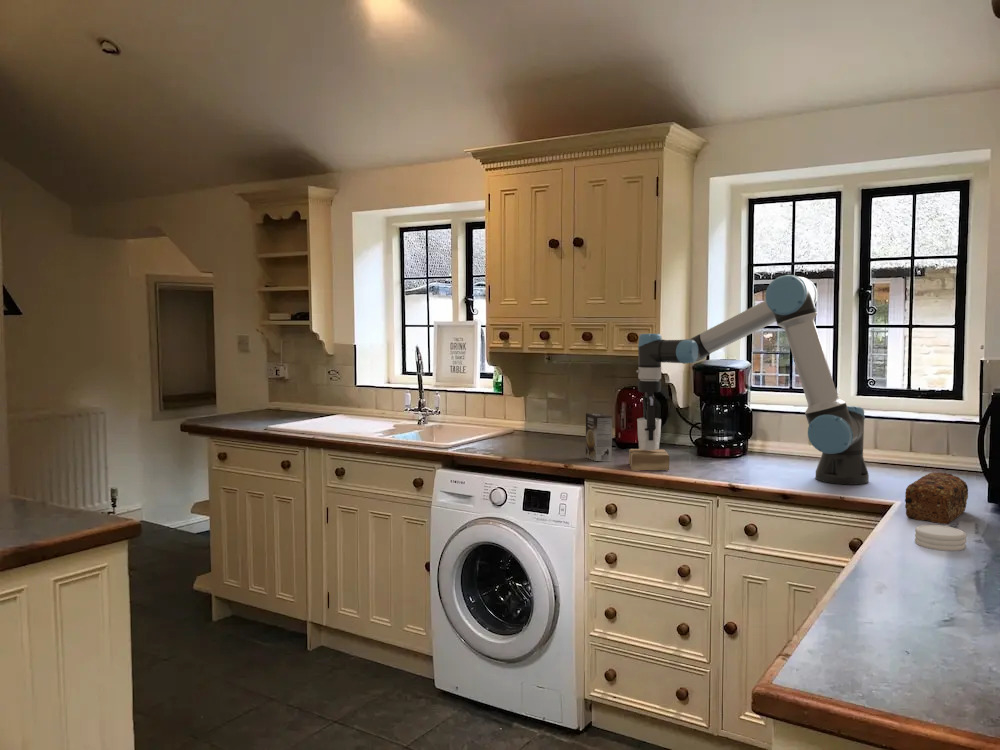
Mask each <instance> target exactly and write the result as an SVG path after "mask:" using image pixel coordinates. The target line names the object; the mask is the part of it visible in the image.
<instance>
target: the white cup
mask: <svg viewBox="0 0 1000 750" xmlns="http://www.w3.org/2000/svg"><path fill="white" fill-rule="evenodd" d="M636 421H637V423H636V424H637V441H638V449H642V450H646V431H645V428H647V420H646V419H644V418H643V417H639V418H637V419H636ZM655 426H656V429H655V450H658V449H660V441H661V433H662V431H661V427H662V418H658V417H655Z"/></svg>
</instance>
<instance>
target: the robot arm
mask: <svg viewBox="0 0 1000 750" xmlns="http://www.w3.org/2000/svg"><path fill="white" fill-rule="evenodd" d="M764 296H765V297H764V298H765V300H763V301H762V302H760V303H757V304H756V305H754V306H751V307H749V308H747V309H746V310H744V311H741V312H740V313H738V314H736V315H733V316H732V317H730V318H728V319H727V320H724V321H722V322H720V323H718V324H717V325H716V324H715V325H714V326H713V327H710V328H709V329H707V330H704V331H703V332H700V333H699V334H697V335H695V336H693V337H691V338H686V339H662V335H661V333H641V334H640V335H639V336H638V346H637V351H638V360H637V361H638V364H637V367H638V369H637V370H636V372H635V373H637V374H638V376H637V378H638V379H639V380H638V381H637V391H638V392H639V393H644V395H643V396H642V403H643V404H642V405H643V406H642V407H643V409H642V410H643V413H642V418H644V419H646V420H647V428H645V431H646V450H655V429H656V426H655V418H656V407H657V406H656V404H657V403H656V402H657V398H656V397H655V393H660V392H661V391H662V381H661V379H662V363H670V364H671V363H672V364H694V363H695V362H699V361H701V360H704V358H706V357H708V356H710V355H711V354H712V353H715V352H716V351H718V350H721V349H722V348H724V347H727V346H729V345H732V344H733V343H735V342H737V341H739V340H741V339H743V338H746V337H748V336H750V335H751V334H753V333H756V332H758V331H759V330H762V329H764V328H765V327H768V326H769V325H772V324H774V323H776V324H777V326H778V327H780V328H782V329H784V331H785V335H786V339H787V342H788V345H789V348H790V351H791V355H792V357H793V361H794V364H795V368H796V371H797V373H798V377H799V380H800V383H801V386H802V388H803V394H804V397H805V399H806V402H807V405H808V406H807V409H806V410H805V411H804V413H805V417H806V420H807V424H808V427H807V437H808V441H809V443H810V444H811V445H812V447H813V448H814V449H816V450H817V451H819V452H820V453H821V456H820V459H819V461H818V464H817V467H816V469H815V479H816V480H818V481H820V482H823V483H830V484H835V485H836V484H837V485H862V484H863V485H864V484H867V483H869V481H870V480H869V479H870V478H869V477H870V475H869V472H868V471H869V470H868V469H867V464H866V462H865V459H864V438H865V419H866V417H865V410H864V408H863V407H861V406H851V405H847V402H846V401H845V400H843V399H841V398H839V396H838V393H837V389H836V386H835V383H834V380H833V376H832V373H831V370H830V368H829V364H828V361H827V358H826V355H825V351H824V349H823V345H822V342H821V339H820V336H819V332H818V329H817V327H816V322H815V318H816V317H817V315H818V311H817V308H816V303H817V300H818V289H817V287H816V285H815V284H814V282H812V280H810V279H808V278H807V277H804V276H797V275H796V274H795V275H794V274H786V275H780V276H778V277H776V278H775V279H773V280H772V281H771V282H770V283H769V285H768V286H767V288H766V290H765V294H764Z"/></svg>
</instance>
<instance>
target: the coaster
mask: <svg viewBox="0 0 1000 750" xmlns="http://www.w3.org/2000/svg"><path fill="white" fill-rule="evenodd" d="M914 532H915V533H914V537H915V538H914V542H915V544H917V545H918V546H920V547H923V548H926V549H929V550H930V549H931V550H936V551H944V552H959V551H963V550H965V549H966V547H967V545H966V543H967V539H966V538H967V533H966V532H965V531H963V530H961V529H959V528H956V527H952V526H945V525H939V524H936V525H935V524H923V525H918V526H917V527H915V529H914Z"/></svg>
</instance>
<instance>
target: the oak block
mask: <svg viewBox="0 0 1000 750" xmlns="http://www.w3.org/2000/svg"><path fill="white" fill-rule="evenodd" d="M628 464H630V465H629V467H630V466H631V467H630V468H631V471H640V470H667V471H666V472H668V470H669V471H670V455H669V454H668V452H667V451H666V450H665V449H664V448H663V449H662V448H659V449H658V450H642V449H639V448H630V449H628Z"/></svg>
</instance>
